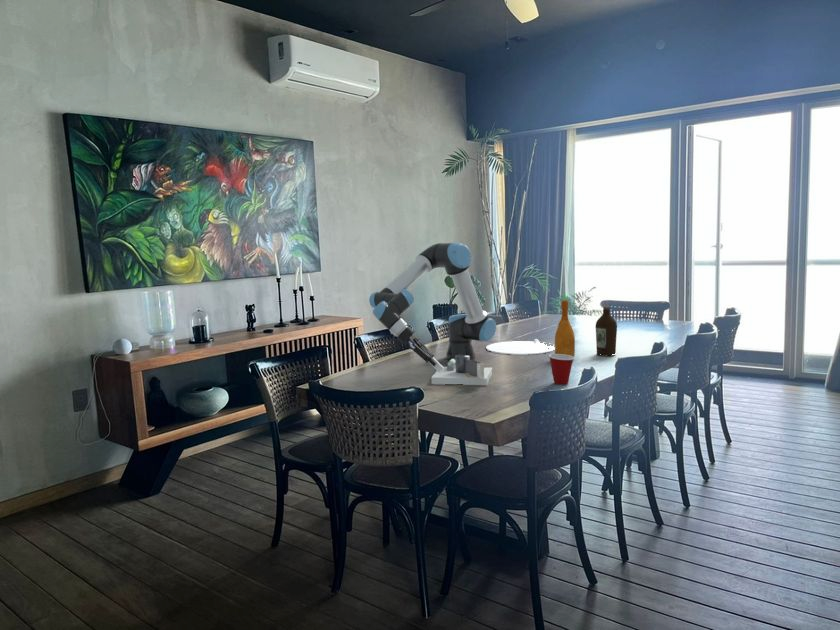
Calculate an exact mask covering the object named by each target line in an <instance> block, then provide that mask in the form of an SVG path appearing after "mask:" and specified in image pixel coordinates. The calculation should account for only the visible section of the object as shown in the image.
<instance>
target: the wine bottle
mask: <svg viewBox="0 0 840 630" xmlns="http://www.w3.org/2000/svg"><path fill="white" fill-rule="evenodd" d="M560 303H561V305H560V306H561V307H560V309H561V317H560V319H559V320H558V322H557V328H556V331H555V335H554V345H555V351H554V354H565V355H570V356H574V357H575V353H576V352H575V351H576V350H575V348H576V342H575V341H576V340H575V333H574V330H573V327H572V325H571V323H570V319H569V315H568V310H569V301H568V300H561V302H560Z"/></svg>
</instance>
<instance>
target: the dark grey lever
mask: <svg viewBox="0 0 840 630" xmlns="http://www.w3.org/2000/svg"><path fill="white" fill-rule="evenodd" d="M454 364H456V372H458V373H468V374H471V375H473V376H475V377H477V378H479V379H481V378H484V367H485V363H484V362H480V361H477V360H475V359H470V355H465V354H461V355H456V356H455V363H454Z"/></svg>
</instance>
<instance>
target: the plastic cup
mask: <svg viewBox="0 0 840 630" xmlns="http://www.w3.org/2000/svg"><path fill="white" fill-rule="evenodd" d="M548 357H549V361H550V362H549V363H550V367H551V374H552V379H553V382H554V384H556V385H558V386H559V385H563V386H564V385H568V383H569V382H570V376H571V371H572V365H573V362H574V360H575V358H576V357H575V356H570V355H565V354H555V353H549V354H548Z"/></svg>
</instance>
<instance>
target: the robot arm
mask: <svg viewBox="0 0 840 630" xmlns="http://www.w3.org/2000/svg"><path fill="white" fill-rule="evenodd" d="M471 258H472V253H471V251H470V248H469V247H468V245H466V244H464V243H460V242H447V243H445V242H444V243H443V242H442V243H441V242H439V243H435V244H432V245H431V246H428V247H427V248H426V249H424V250H423V251H421V253H419V254H418V255H417V256H416V257H415V260H414V261H413V262H412V263H411V264H410V265H409V266H408V267H407V268H406V269H404V270H403V271H402V272H401V273H400V274H398V276H396V277H395V278H394V279H393V280H392V281H390V283H388V284H387V285H386V286H385V287H384V288H383V289H382V290H381V291H376V292H372V293H371V294H370V296H369V299H368V303H369V305H370V307H371V308H373V310H372V314H373V315H374V317H375V318H376V319H377V320H378V321H379V322H380V323H381V324H382V325H383V326H384V327H385V328H386V329H387V330H388V331H390V334H391V335H393V336H394V337H397V338H396V339H397V340H398V341H399V342H400V343H401V344H404V343H407V344H408V346H409V347H408V348H409V349H410V350H411V351H413V352H414V353H415V354H417V356H419V357H420V358H421V359H422V360H423V361H424V362H425V363H426V364H427V363H429V365H430V366H432V367H433V369H435V370H436V371H438V372H440V371H441V370H442V369H443V368H444V367H445V366H443V365H442V364H441V363H440V362H439V361H438V360H437V359H436V358H435V357H434V356H435V355H434V354H433V353H432V352H431V351H430V350H429V349H428V348H427V346H426V345H425V344H424V343H423V341H422V340H421V339H420V338H418V337H416V336H415V335H413V334H414V333H415V329H413V328H412V327H411V326H410V325H408V323H407V322H406V321H405V320H404V319H403V318H402V316H401V315H402V314H403V313H404V312H405V311H406V310H407V309H408V308H410V307H411V305H412V304H414V301H415V298H414V295H413V293H412V292H411V291H410V290H408V289H409V288H410V287H411V286H413V285H414V284H415V283H416V282H417V281H418V280H419V279H420V278H421V277H422V276H424V275H425V274H426V273H430V272H431V271H432V270H435V269H436V268H444V270H445V272H446V274H447V275H448V276H450V278H451V279H452V282H453V285H454V287H455V290H456V292H457V295H458V297H459V300H460V302H461V305H462V309H463V311H464V313H460V314H458V313H457V314H454V315H450V316H449V317H448V323H447V324H448V347H447V350H446V353H445V359H447V360H449V361H450V360H451V359H455V356H456V355H461V354H465V355H470V359H472V360H475V359H476V353H475V350H474V347H473V344H472V341H478V342H490V341H491V340H492V339H493V338H494V336H495V335H496V331H497V323H496V320H494V319H493V318H490V317H489V316H488V313H487V311H486V310H483V308H482V305H481V303H480V300H479V297H478V294H477V291H476V288H475V285H474V282H473V280H472V278H471V275H470V272H469V269H470V267H471V266H470V265H471V261H472V259H471Z"/></svg>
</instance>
